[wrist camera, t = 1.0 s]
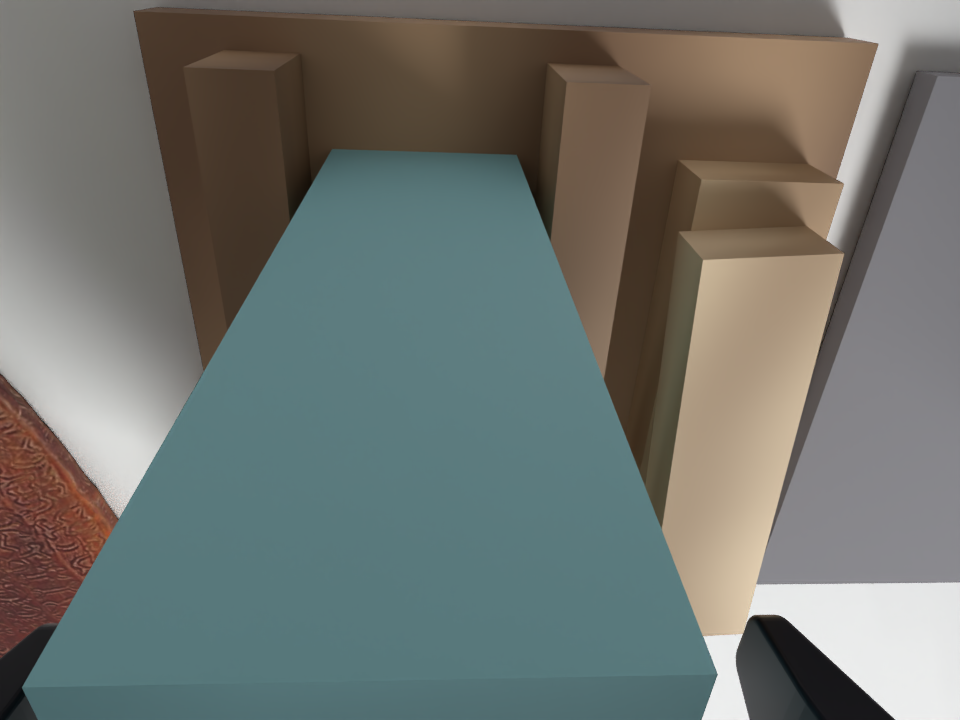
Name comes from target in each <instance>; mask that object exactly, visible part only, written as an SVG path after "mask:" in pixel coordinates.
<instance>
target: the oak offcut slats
mask: <svg viewBox="0 0 960 720" xmlns="http://www.w3.org/2000/svg"><path fill="white" fill-rule="evenodd" d="M843 185H844V184H843V183H842V182H840V181H838V180H836V179H834V178H833V177H831V176H829V175H827V174H826V173H824V172H822V171H820V170H818V169H817V168H815V167H813V166H811V165H809V164H792V163H760V162H728V161H697V160H678V165H677V170H676V175H675V180H674V186H673V191H672V196H671V201H670V207H669V212H668V217H667V222H666V227H665V233H664V238H663V243H662V248H661V254H660V259H659V264H658V269H657V275H656V280H655V285H654V290H653V296H652V301H651V306H650V311H649V316H648V322H647V327H646V332H645V337H644V343H643V348H642V353H641V358H640V364H639V369H638V374H637V379H636V385H635V390H634V395H633V400H632V405H631V411H630V416H629V421H628V426H627V432H626V439H627V441H628V444H629V447H630V449H631V452H632V454H633V457H634V459H635V462H636V465H637V467H638V470H639V472H640V475H641V478H642V480H643V483H644V485H645V488H646V490H647V493H648V496H649V498H650V501H651V503H652V506H653V509H654V511H655V514H656V516H657V519H658V522H659V524H660V527H661V529H662V532H663V534H664V537H665V540H666V542H667V545H668V547H669V550H670V553H671V555H672V558H673V560H674V563H675V565H676V568H677V571H678V573H679V576H680V578H681V581H682V584H683V586H684V589H685V591H686V594H687V597H688V599H689V602H690V604H691V607H692V609H693V612H694V615H695V617H696V620H697V622H698V625H699V628H700V630H701V633H702V635H703V636H713V635H730V634H743V632H744V628H745V624H746V621H747V617H748V613H749V609H750V606H751V602H752V598H753V594H754V591H755V587H756V583H757V579H758V576H759V572H760V568H761V564H762V561H763V557H764V553H765V549H766V546H767V542H768V538H769V534H770V531H771V527H772V523H773V519H774V516H775V512H776V508H777V505H778V501H779V497H780V493H781V490H782V486H783V482H784V478H785V475H786V471H787V467H788V463H789V460H790V456H791V452H792V448H793V445H794V441H795V437H796V433H797V430H798V426H799V422H800V418H801V415H802V411H803V407H804V403H805V400H806V396H807V392H808V388H809V385H810V381H811V377H812V374H813V370H814V366H815V362H816V359H817V355H818V351H819V347H820V344H821V340H822V336H823V332H824V329H825V325H826V321H827V317H828V314H829V310H830V306H831V302H832V299H833V295H834V291H835V287H836V284H837V280H838V276H839V272H840V269H841V265H842V261H843V257H844V253H843V252H842V251H840V250H839V249H837V248H836V247H835V246H833V245H832V244H831V243H829V242H828V241H826V238H827V235H828V232H829V229H830V226H831V223H832V220H833V217H834V214H835V210H836V207H837V204H838V201H839V198H840V195H841V192H842V189H843Z"/></svg>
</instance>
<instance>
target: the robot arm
mask: <svg viewBox="0 0 960 720" xmlns="http://www.w3.org/2000/svg"><path fill="white" fill-rule="evenodd" d="M58 624H59V623H47V624H43V625H41V626H39V627H38V628H36V629H35V630H33V631H32V632H31V633H30V634H29V635H27V636H26V637H25V638H24V639H23V640H21V641H20V642H19V643H18V644H17V645H15V646H14V647H13V648H12V649H11V650H9V651H8V652H7V653H6V654H5V655H3V656H2V657H1V658H0V720H38V719H37V717H36V715H35V713H34V711H33V709H32V707H31V705H30V703H29V701H28V699H27V697H26V695H25V693H24V691H23V689H22V687H23V685H24V683H25V681H26V680H27V678H28V676H29V674H30V673H31V671H32V669H33V667H34V666H35V664H36V662H37V661H38V659H39V657H40V655H41V654H42V652H43V650H44V648H45V647H46V645H47V643H48V641H49V640H50V638H51V636H52V634H53V633H54V631H55V629H56V628H57V626H58ZM736 667H737V672H738V676H739V680H740V684H741V688H742V692H743V696H744V699H745V703H746V707H747V711H748V715H749V719H750V720H895V719H894V718H893V717H892V716H891V715H889V714H888V713H887V712H886V711H885V710H884V709H883V708H882V707H881V706H880V705H879V704H878V703H876V702H875V701H874V700H873V699H872V698H871V697H870V696H869V695H868V694H867V693H866V692H865V691H863V690H862V689H861V688H860V687H859V686H858V685H857V684H856V683H855V682H854V681H853V680H852V679H850V678H849V677H848V676H847V675H846V674H845V673H844V672H843V671H842V670H841V669H840V668H839V667H837V666H836V665H835V664H834V663H833V662H832V661H831V660H830V659H829V658H828V657H827V656H826V655H824V654H823V653H822V652H821V651H820V650H819V649H818V648H817V647H816V646H815V645H814V644H812V643H811V642H810V641H809V640H808V639H807V638H806V637H805V636H804V635H803V634H802V633H801V632H799V631H798V630H797V629H796V628H795V627H794V626H793V625H792V624H791V623H790V622H789V621H787V620H786V619H785V618H783V617H781V616H779V615H754V616H752V617H751V618H749V620H748V622H747V624H746V627H745V630H744V633H743V635H742V638H741V641H740V643H739V646H738V649H737V653H736Z"/></svg>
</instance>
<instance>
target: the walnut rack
mask: <svg viewBox="0 0 960 720" xmlns="http://www.w3.org/2000/svg"><path fill="white" fill-rule="evenodd" d="M133 12H134V17H135V22H136V27H137V32H138V37H139V42H140V47H141V53H142V58H143V63H144V68H145V73H146V78H147V83H148V88H149V93H150V99H151V104H152V109H153V114H154V119H155V124H156V129H157V134H158V140H159V145H160V150H161V155H162V160H163V165H164V170H165V175H166V181H167V186H168V191H169V196H170V201H171V206H172V211H173V216H174V221H175V227H176V232H177V237H178V242H179V247H180V252H181V257H182V262H183V268H184V273H185V278H186V283H187V288H188V293H189V298H190V303H191V308H192V314H193V319H194V324H195V329H196V334H197V339H198V344H199V349H200V355H201V360H202V365H203V370H204V371H205V369H206V367H207V365H208V364H209V362H210V360H211V359H212V357H213V355H214V353H215V352H216V350H217V348H218V346H219V345H220V343H221V341H222V339H223V338H224V336H225V334H226V333H227V331H228V329H229V327H230V326H231V324H232V322H233V320H234V319H235V317H236V315H237V313H238V312H239V310H240V308H241V306H242V305H243V303H244V301H245V300H246V298H247V296H248V294H249V293H250V291H251V289H252V287H253V286H254V284H255V282H256V280H257V279H258V277H259V275H260V274H261V272H262V270H263V268H264V267H265V265H266V263H267V261H268V260H269V258H270V256H271V254H272V253H273V251H274V249H275V247H276V246H277V244H278V242H279V241H280V239H281V237H282V235H283V234H284V232H285V230H286V228H287V227H288V225H289V223H290V221H291V220H292V218H293V216H294V215H295V213H296V211H297V209H298V208H299V206H300V204H301V202H302V201H303V199H304V197H305V195H306V194H307V192H308V190H309V188H310V187H311V185H312V183H313V182H314V180H315V178H316V176H317V175H318V173H319V171H320V169H321V168H322V166H323V164H324V162H325V161H326V159H327V157H328V155H329V154H330V152H331V150H332V149H347V150H379V151H411V152H442V153H474V154H506V155H517V157H518V160H519V162H520V165H521V167H522V170H523V172H524V175H525V178H526V180H527V183H528V185H529V188H530V191H531V193H532V196H533V198H534V201H535V203H536V206H537V209H538V211H539V214H540V216H541V219H542V222H543V224H544V227H545V229H546V232H547V234H548V237H549V240H550V242H551V245H552V247H553V250H554V253H555V255H556V258H557V260H558V263H559V266H560V268H561V271H562V273H563V276H564V278H565V281H566V284H567V286H568V289H569V291H570V294H571V297H572V299H573V302H574V304H575V307H576V309H577V312H578V315H579V317H580V320H581V322H582V325H583V328H584V330H585V333H586V335H587V338H588V341H589V343H590V346H591V348H592V351H593V353H594V356H595V359H596V361H597V364H598V366H599V369H600V372H601V374H602V377H603V379H604V382H605V384H606V387H607V390H608V392H609V395H610V397H611V400H612V403H613V405H614V408H615V410H616V413H617V416H618V418H619V421H620V423H621V426H622V428H623V431H624V434H625V436H626V432H627V426H628V421H629V416H630V411H631V405H632V400H633V395H634V390H635V385H636V379H637V374H638V369H639V364H640V358H641V353H642V348H643V343H644V337H645V332H646V327H647V322H648V316H649V311H650V306H651V301H652V296H653V290H654V285H655V280H656V275H657V269H658V264H659V259H660V254H661V248H662V243H663V238H664V233H665V227H666V222H667V217H668V212H669V207H670V201H671V196H672V191H673V186H674V180H675V175H676V170H677V165H678V160H697V161H728V162H760V163H792V164H809V165H811V166H813V167H815V168H817V169H818V170H820V171H822V172H824V173H826V174H827V175H829V176H831V177H833V178H834V179H836V178H837V174H838V171H839V168H840V165H841V162H842V159H843V155H844V152H845V149H846V146H847V143H848V139H849V136H850V133H851V130H852V127H853V123H854V120H855V117H856V114H857V111H858V107H859V104H860V101H861V98H862V95H863V92H864V88H865V85H866V82H867V79H868V76H869V72H870V69H871V66H872V63H873V60H874V56H875V53H876V50H877V47H878V44H877V43H872V42H867V41H862V40H857V39H851V38H842V37H819V36H797V35H774V34H752V33H729V32H706V31H684V30H661V29H638V28H616V27H593V26H570V25H548V24H525V23H502V22H480V21H457V20H435V19H412V18H389V17H367V16H344V15H321V14H299V13H276V12H253V11H231V10H208V9H185V8H163V7H155V8H149V9H143V10H137V11H133Z"/></svg>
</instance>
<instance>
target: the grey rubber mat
mask: <svg viewBox="0 0 960 720" xmlns="http://www.w3.org/2000/svg"><path fill="white" fill-rule="evenodd" d="M937 582H960V73H949V72H925V71H917V73H916V76H915V78H914V81H913V84H912V87H911V90H910V93H909V96H908V99H907V102H906V104H905V107H904V110H903V113H902V116H901V119H900V122H899V125H898V128H897V130H896V133H895V136H894V139H893V142H892V145H891V148H890V151H889V153H888V156H887V159H886V162H885V165H884V168H883V171H882V174H881V177H880V179H879V182H878V185H877V188H876V191H875V194H874V197H873V200H872V203H871V205H870V208H869V211H868V214H867V217H866V220H865V223H864V226H863V228H862V231H861V234H860V237H859V240H858V243H857V246H856V249H855V252H854V254H853V257H852V260H851V263H850V266H849V269H848V272H847V275H846V278H845V280H844V283H843V286H842V289H841V292H840V295H839V298H838V301H837V303H836V306H835V309H834V312H833V315H832V318H831V321H830V324H829V327H828V329H827V332H826V335H825V338H824V341H823V344H822V347H821V350H820V353H819V355H818V358H817V361H816V364H815V367H814V370H813V374H812V377H811V381H810V385H809V388H808V392H807V396H806V400H805V403H804V407H803V411H802V415H801V418H800V422H799V426H798V430H797V433H796V437H795V441H794V445H793V448H792V452H791V456H790V460H789V463H788V467H787V471H786V475H785V478H784V482H783V486H782V490H781V493H780V497H779V501H778V505H777V508H776V512H775V516H774V519H773V523H772V527H771V531H770V534H769V538H768V542H767V546H766V549H765V553H764V557H763V561H762V564H761V568H760V572H759V576H758V579H757V583H756V584H838V583H937Z"/></svg>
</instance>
